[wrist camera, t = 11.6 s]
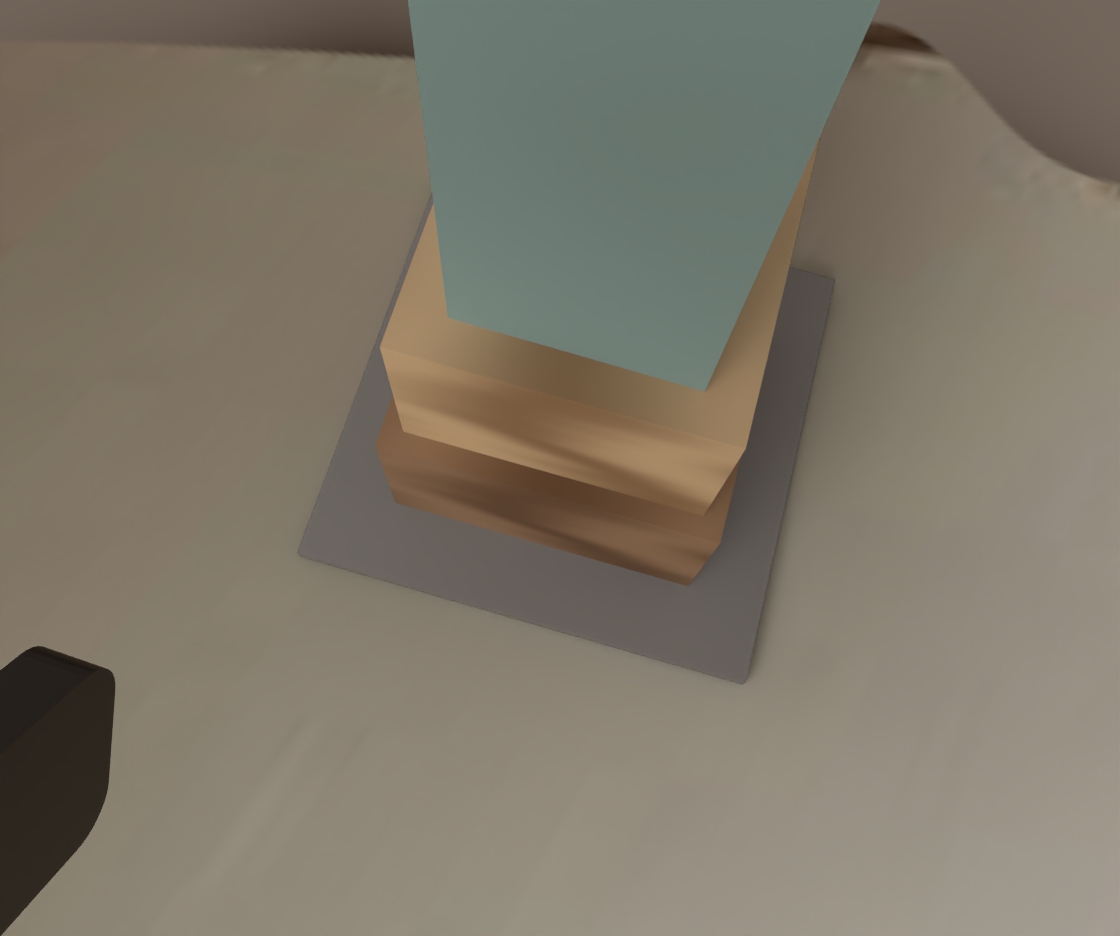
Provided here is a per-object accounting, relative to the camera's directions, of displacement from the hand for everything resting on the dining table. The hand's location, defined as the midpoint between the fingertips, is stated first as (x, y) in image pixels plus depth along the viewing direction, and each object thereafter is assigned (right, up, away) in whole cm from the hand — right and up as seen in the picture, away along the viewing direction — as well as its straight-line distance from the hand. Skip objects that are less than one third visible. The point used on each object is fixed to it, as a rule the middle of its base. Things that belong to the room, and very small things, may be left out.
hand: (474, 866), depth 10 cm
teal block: (+2, +8, +10) cm, 13 cm away
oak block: (+2, +7, +15) cm, 16 cm away
